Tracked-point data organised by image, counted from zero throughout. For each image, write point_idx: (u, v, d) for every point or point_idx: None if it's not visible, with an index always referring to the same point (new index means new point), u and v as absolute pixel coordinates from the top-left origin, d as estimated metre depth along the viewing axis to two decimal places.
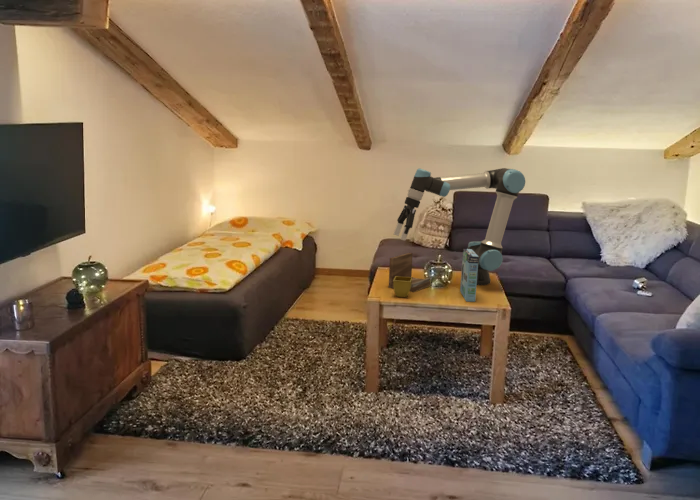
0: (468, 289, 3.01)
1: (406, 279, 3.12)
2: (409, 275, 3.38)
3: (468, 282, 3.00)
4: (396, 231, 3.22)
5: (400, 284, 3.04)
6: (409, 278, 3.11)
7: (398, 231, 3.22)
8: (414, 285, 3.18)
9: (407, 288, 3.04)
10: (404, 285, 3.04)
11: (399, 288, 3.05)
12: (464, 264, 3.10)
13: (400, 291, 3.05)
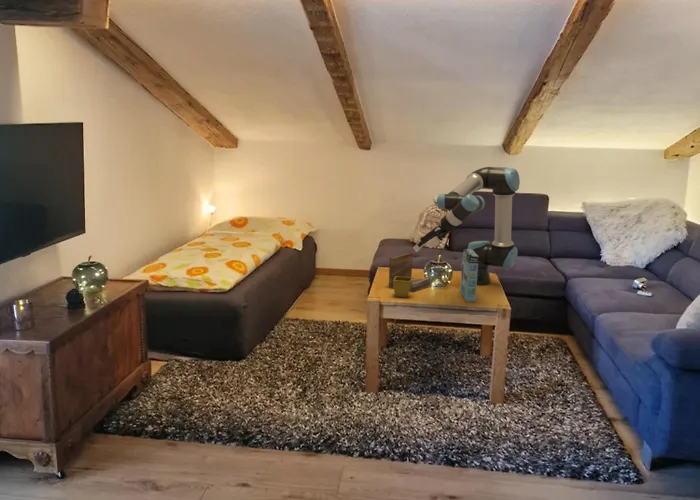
0: (468, 289, 3.01)
1: (406, 279, 3.12)
2: (409, 275, 3.38)
3: (468, 282, 3.00)
4: None
5: (400, 284, 3.04)
6: (409, 278, 3.11)
7: None
8: (414, 285, 3.18)
9: (407, 288, 3.04)
10: (404, 285, 3.04)
11: (399, 288, 3.05)
12: (464, 264, 3.10)
13: (400, 291, 3.05)
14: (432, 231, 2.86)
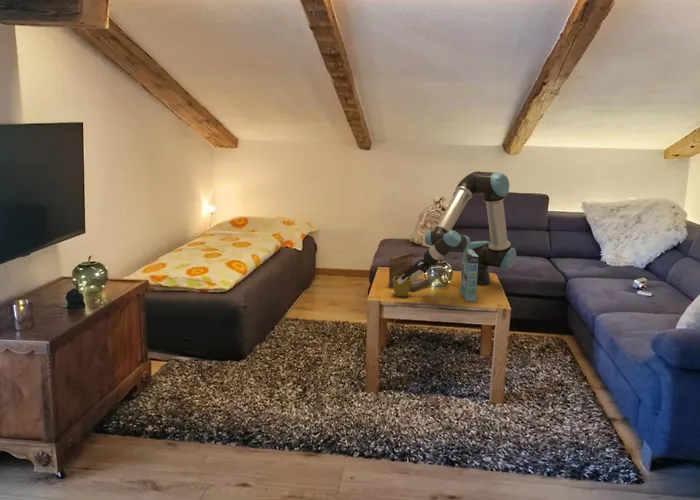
0: (468, 289, 3.01)
1: None
2: None
3: (468, 282, 3.00)
4: None
5: None
6: None
7: None
8: (414, 285, 3.18)
9: (407, 287, 3.04)
10: (404, 284, 3.04)
11: (399, 288, 3.05)
12: (464, 264, 3.10)
13: (400, 291, 3.06)
14: (415, 265, 2.93)
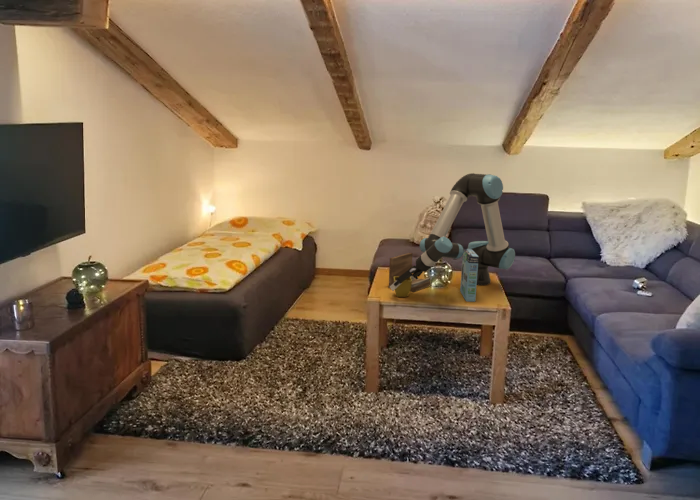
0: (468, 289, 3.01)
1: None
2: None
3: (468, 282, 3.00)
4: None
5: (401, 284, 3.04)
6: None
7: None
8: (414, 285, 3.18)
9: (408, 288, 3.05)
10: (405, 285, 3.05)
11: (400, 288, 3.05)
12: (464, 264, 3.10)
13: (401, 291, 3.06)
14: (407, 272, 2.97)
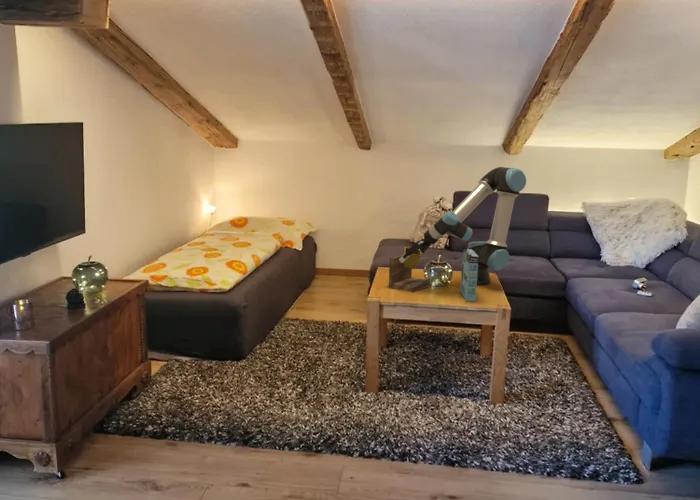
0: (468, 289, 3.01)
1: None
2: (409, 275, 3.38)
3: (468, 282, 3.00)
4: None
5: (410, 257, 3.22)
6: (417, 250, 3.29)
7: None
8: (414, 285, 3.18)
9: (416, 261, 3.22)
10: (414, 258, 3.22)
11: (409, 260, 3.23)
12: (464, 264, 3.10)
13: (409, 263, 3.23)
14: (416, 244, 3.15)
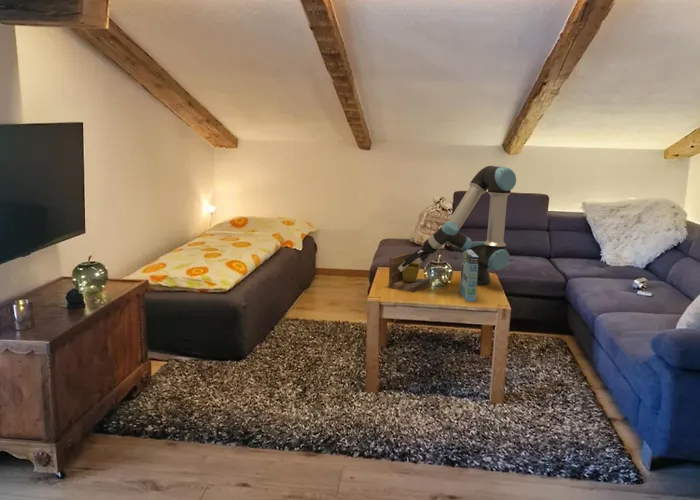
0: (468, 289, 3.01)
1: (414, 265, 3.31)
2: None
3: (468, 282, 3.00)
4: None
5: (409, 270, 3.23)
6: (417, 264, 3.30)
7: None
8: (414, 285, 3.18)
9: (415, 274, 3.24)
10: (412, 271, 3.23)
11: (407, 274, 3.24)
12: (464, 264, 3.10)
13: (408, 276, 3.25)
14: (415, 253, 3.16)
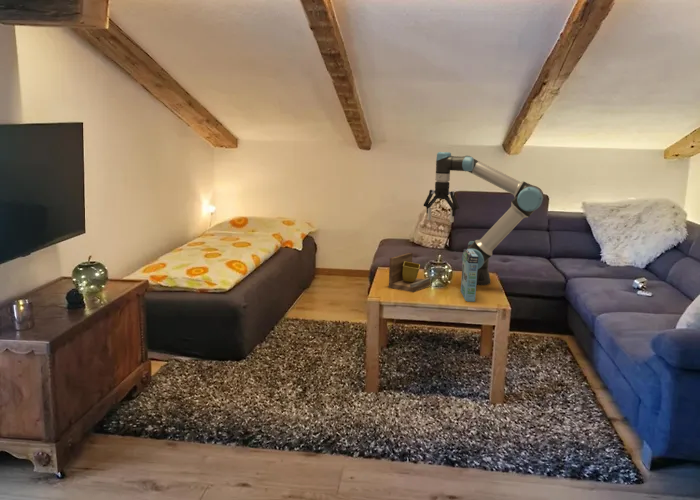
0: (468, 289, 3.01)
1: (414, 265, 3.31)
2: None
3: (468, 282, 3.00)
4: (429, 216, 3.33)
5: (409, 270, 3.23)
6: (417, 264, 3.30)
7: (430, 215, 3.34)
8: (414, 285, 3.18)
9: (415, 274, 3.24)
10: (412, 271, 3.23)
11: (407, 274, 3.24)
12: (464, 264, 3.10)
13: (408, 276, 3.25)
14: None
